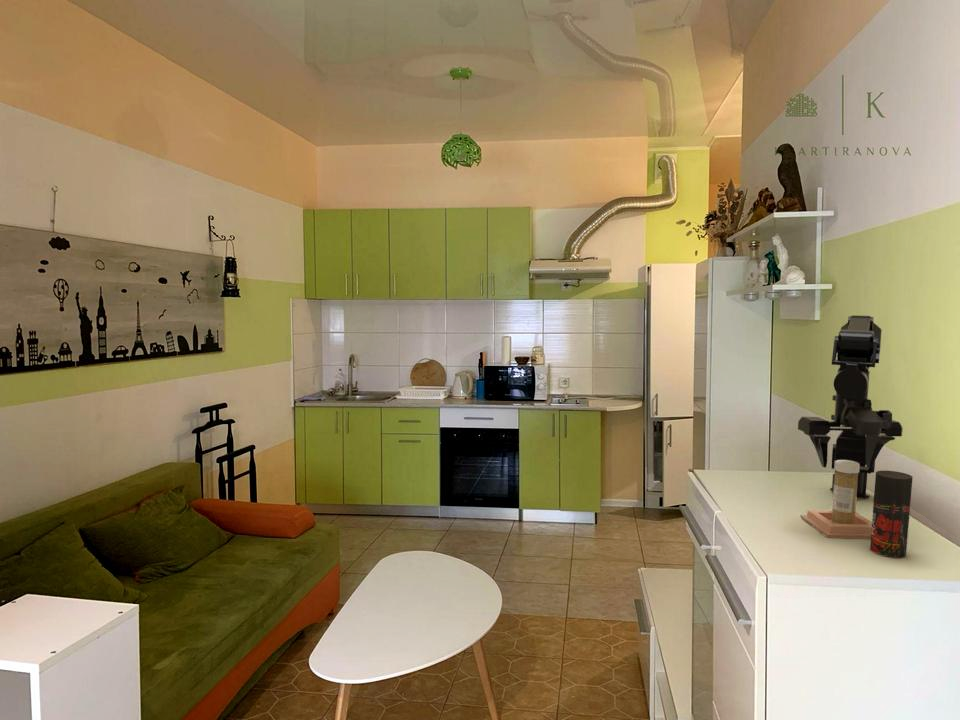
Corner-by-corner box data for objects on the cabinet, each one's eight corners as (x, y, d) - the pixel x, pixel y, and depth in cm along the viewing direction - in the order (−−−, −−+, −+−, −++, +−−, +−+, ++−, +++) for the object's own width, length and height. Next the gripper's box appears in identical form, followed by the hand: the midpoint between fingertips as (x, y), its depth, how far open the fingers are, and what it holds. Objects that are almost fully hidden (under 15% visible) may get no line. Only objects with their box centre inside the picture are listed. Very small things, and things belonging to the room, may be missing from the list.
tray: (855, 518, 149) (856, 509, 149) (887, 538, 137) (888, 529, 137) (800, 517, 149) (800, 508, 149) (827, 537, 137) (828, 528, 137)
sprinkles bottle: (859, 526, 143) (864, 462, 141) (847, 530, 140) (852, 465, 139) (837, 519, 147) (842, 457, 145) (825, 523, 144) (830, 460, 143)
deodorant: (862, 546, 133) (868, 470, 131) (892, 545, 134) (898, 470, 132) (883, 558, 127) (889, 479, 126) (913, 557, 128) (920, 479, 126)
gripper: (825, 398, 132) (819, 477, 134) (922, 399, 132) (916, 479, 134) (799, 389, 143) (794, 462, 145) (889, 391, 143) (883, 464, 145)
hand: (846, 467), depth 142 cm, fingers open, 9 cm apart
